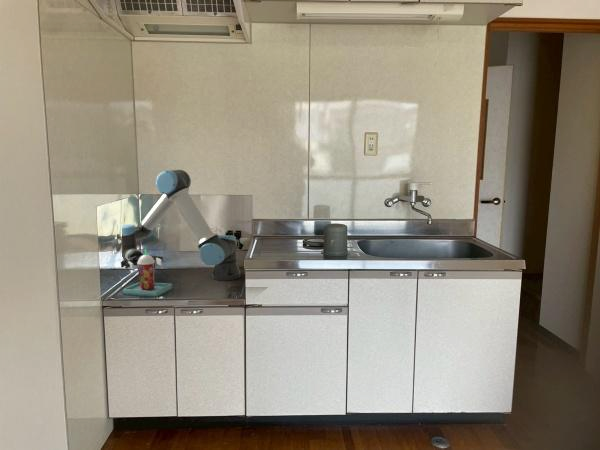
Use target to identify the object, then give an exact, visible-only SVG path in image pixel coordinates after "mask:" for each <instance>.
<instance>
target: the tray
mask: <svg viewBox="0 0 600 450" xmlns="http://www.w3.org/2000/svg"><path fill="white" fill-rule="evenodd" d="M172 289H173V283H166V282H165V283H163V282H155V287H154V289H153V290H150V291H145V290H142V289H141V288H140V281H138V282H136V283H134V284H132V285H129V286H126V287H125V288H123V289H122V295H127V296H128V295H129V296H140V297H155V298H157V297H159V296H160V295H163V294H165V293H166V292H169V291H170V290H172Z"/></svg>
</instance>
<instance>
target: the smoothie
mask: <svg viewBox="0 0 600 450" xmlns="http://www.w3.org/2000/svg"><path fill="white" fill-rule="evenodd" d="M150 255H151V254H147V249H146V248H145V249H144V254H143V255H142V256H141V257H140V258H139V260H138V262H137V266H136V267H137V272H138V273H137V274H138V280H139V281H138V282H140V288H141V289H142V290H145V291H150V290H153V289H154V287H155V283H156V263H155V261H154V259H153V257H152V256H153V255H152V256H150Z"/></svg>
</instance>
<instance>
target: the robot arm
mask: <svg viewBox="0 0 600 450" xmlns="http://www.w3.org/2000/svg"><path fill="white" fill-rule="evenodd" d="M191 181H192V180H191V177H190V174H189V173H188V172H187V171H185V170H183V169H172V170H171V169H166V170H163V171H161V172H160V173H159V174H158V175H157V176H156V180H155V185H156V189H157V191H159V193H161V194H162V195H161V196H160V198H159V199H158V200H157V201H156V203H154V205H153V206H152V207H151V209H150V210H149V211H148V212H147V214H146V216H145V217H144V218H143V219H142V221H141V222H140V223H139V224H138V225H137V226H136V225H135V224H123V225H121V226H122V242H121V249H122V257H123V258H122V257H121V258H122V260H121V261H120V266H121V268H125V269H128V268H129V269H131V270H134V269H135V268H134V266H135V267H138V266H137V262H138V260H139V258H140V257H141V256H142V255H144V254H143V252H142V251H139V250H138V245H137V244H138V243H137V242H138V241H140V240H144V239H147V238H150V237H151V236H152V235H153V231H154V229H155V227H157V225H158V224H160V222H161V220H162V219H163V218H164V216H165V215H166V214H167V213H168V212H169V210H170V209H171V208H172V207H173V206H174V205H175V206H176V208H177V210H178V211H179V213H180V215H181V216H182V218H183V219H184V221H185V222H186V224H187V226H188V228H189V229H190V231H191V232H192V234H193V236H194V237H195V239H196V240H197V248H198V250H199V257H200V260H201V262H203V263H204V264H205V265H207V266H213V269H212V274H211V276H212V279H213V280H215V281H224V282H225V281H233V280H237V279H239V278H241V270H240V268H239V266H238V265H239V264H238V261H237V260H238V257H237V255H238V254H237V252H238V251H237V243H238V242H237V237H236V236H235V235H225V234H222V235H219V234H218V233H215V232H213V231H212V229H211V227H210V226H209V224H208V222H207V221H206V219H205V218H204V216H203V215H202V213H201V211H200V209H199V208H198V207H197V206H198V205H196V204H195V201H194V200H193V198H192V197H191V195H190V194H189V192H190V187H191V183H192V182H191ZM149 255H150V256H152V257H153V259H154V261H155V264H157V265H159V266H163V262H164V260H163V259H164V256H160V255H152V254H149Z"/></svg>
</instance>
